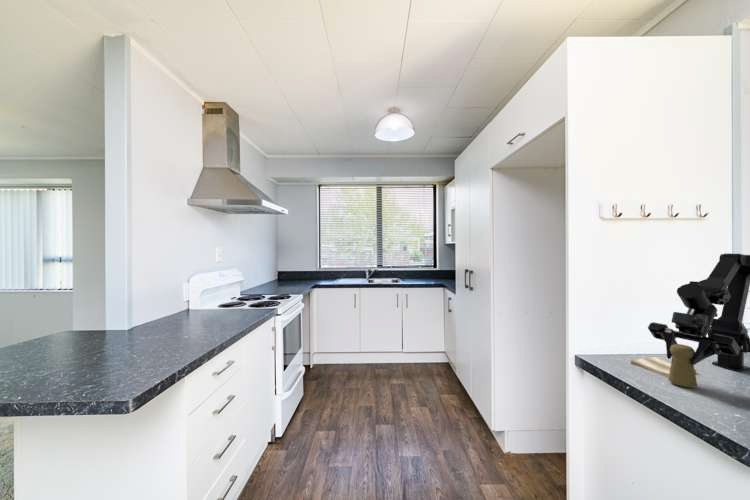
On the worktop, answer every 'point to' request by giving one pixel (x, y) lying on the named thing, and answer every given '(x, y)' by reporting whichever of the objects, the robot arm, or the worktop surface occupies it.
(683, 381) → the cork
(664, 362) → the birch trivet
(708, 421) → the worktop surface
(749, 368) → the robot arm
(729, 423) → the worktop surface
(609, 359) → the worktop surface
